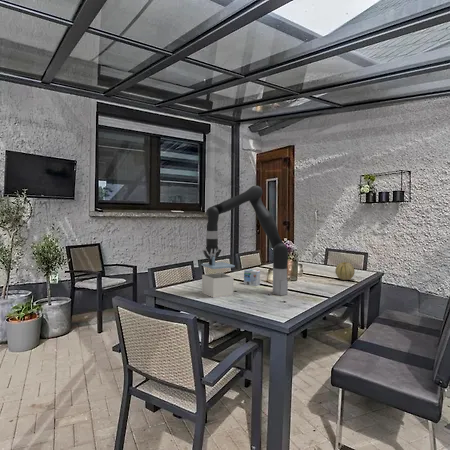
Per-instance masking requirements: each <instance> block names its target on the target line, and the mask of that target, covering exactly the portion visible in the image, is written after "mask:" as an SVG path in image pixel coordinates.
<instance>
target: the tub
mask: <svg viewBox="0 0 450 450" xmlns="http://www.w3.org/2000/svg"><path fill="white" fill-rule="evenodd" d="M201 293H202V294H204V295H207V296H209V297H210V296H211V297H210V298H212V297H213V299H215V298H221V297H223V298H224V297H229V296H234V276H232V275H229V274H227V273H223V272H216V273H208V274H202V275H201Z"/></svg>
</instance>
